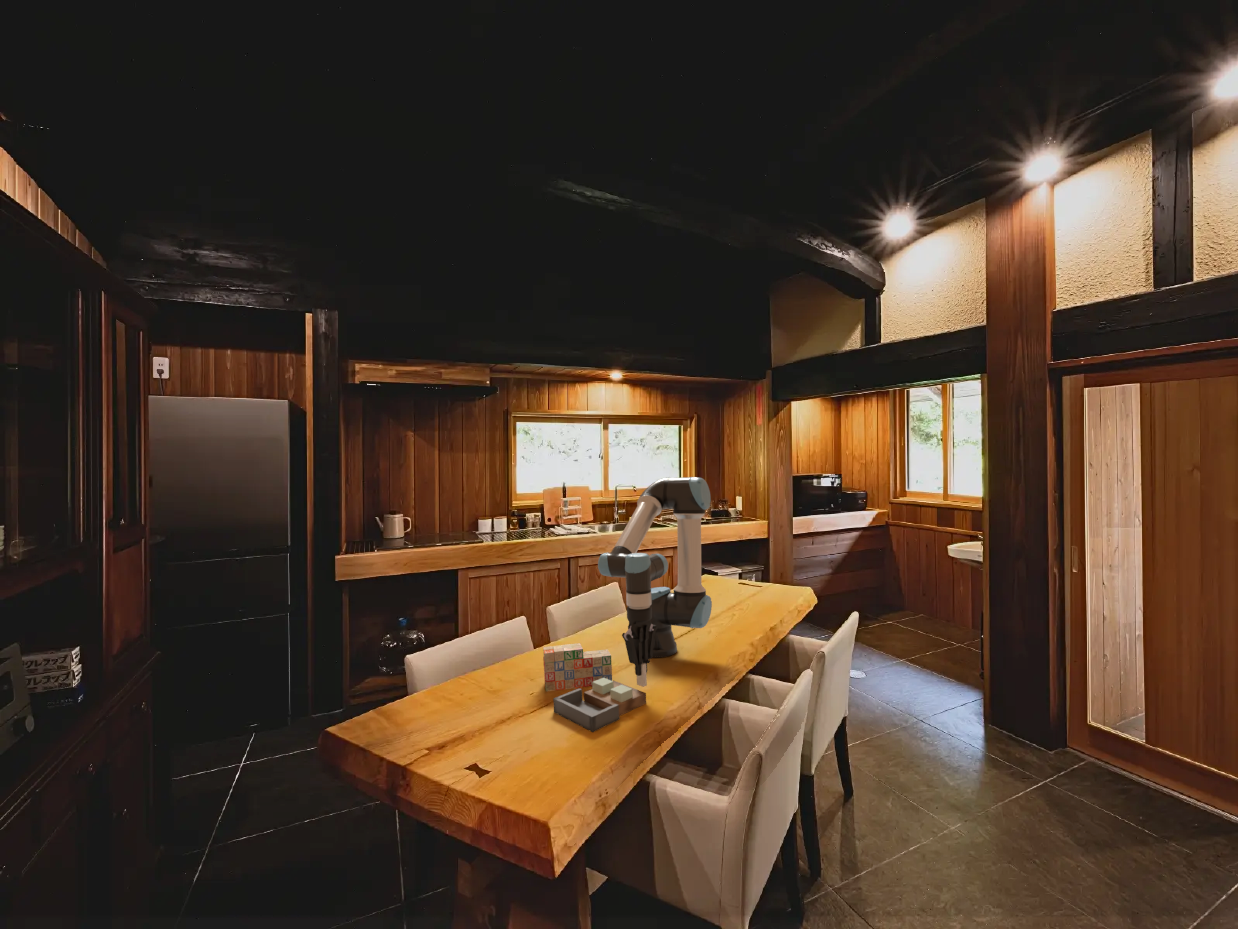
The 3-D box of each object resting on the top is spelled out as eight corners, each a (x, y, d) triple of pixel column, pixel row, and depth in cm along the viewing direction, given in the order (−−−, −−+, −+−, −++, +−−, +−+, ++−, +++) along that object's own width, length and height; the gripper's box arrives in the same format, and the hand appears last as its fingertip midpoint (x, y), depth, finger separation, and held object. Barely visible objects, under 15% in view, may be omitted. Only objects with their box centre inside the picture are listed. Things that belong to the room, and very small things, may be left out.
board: (613, 690, 170) (613, 680, 170) (646, 703, 160) (645, 693, 160) (584, 702, 162) (583, 692, 162) (616, 717, 151) (616, 706, 151)
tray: (580, 701, 163) (579, 688, 163) (619, 719, 150) (619, 704, 150) (553, 712, 156) (553, 698, 156) (592, 732, 144) (592, 717, 144)
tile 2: (621, 693, 160) (621, 684, 160) (632, 697, 157) (632, 688, 157) (610, 698, 157) (610, 689, 157) (621, 702, 154) (621, 693, 154)
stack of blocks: (609, 677, 181) (607, 640, 181) (612, 684, 175) (611, 646, 175) (544, 684, 177) (542, 646, 177) (545, 692, 171) (544, 652, 171)
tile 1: (603, 685, 166) (603, 677, 166) (613, 689, 163) (613, 681, 163) (592, 690, 163) (592, 682, 163) (602, 694, 160) (602, 686, 160)
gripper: (645, 599, 170) (647, 675, 170) (614, 608, 161) (617, 688, 161) (663, 603, 165) (665, 681, 165) (632, 612, 156) (635, 695, 156)
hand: (641, 685), depth 163 cm, fingers closed
